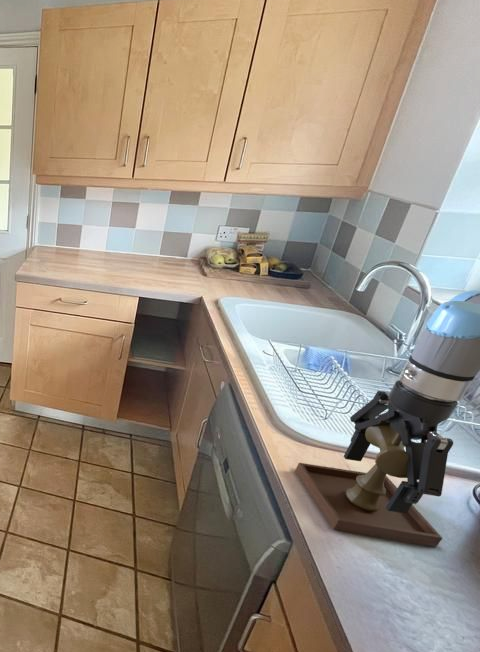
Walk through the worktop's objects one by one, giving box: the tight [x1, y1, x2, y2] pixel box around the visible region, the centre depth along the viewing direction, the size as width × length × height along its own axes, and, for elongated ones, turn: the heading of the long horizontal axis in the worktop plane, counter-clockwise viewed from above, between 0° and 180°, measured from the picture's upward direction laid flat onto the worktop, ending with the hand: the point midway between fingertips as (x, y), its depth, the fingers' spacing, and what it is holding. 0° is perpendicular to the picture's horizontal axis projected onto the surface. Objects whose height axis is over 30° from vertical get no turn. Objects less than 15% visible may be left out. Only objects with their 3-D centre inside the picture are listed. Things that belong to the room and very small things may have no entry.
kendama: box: [346, 425, 409, 512], centre depth 77 cm, size 6×10×20 cm, turn 147°
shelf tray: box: [294, 462, 443, 548], centre depth 81 cm, size 16×14×2 cm
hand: (372, 483), depth 79 cm, fingers open, 12 cm apart
